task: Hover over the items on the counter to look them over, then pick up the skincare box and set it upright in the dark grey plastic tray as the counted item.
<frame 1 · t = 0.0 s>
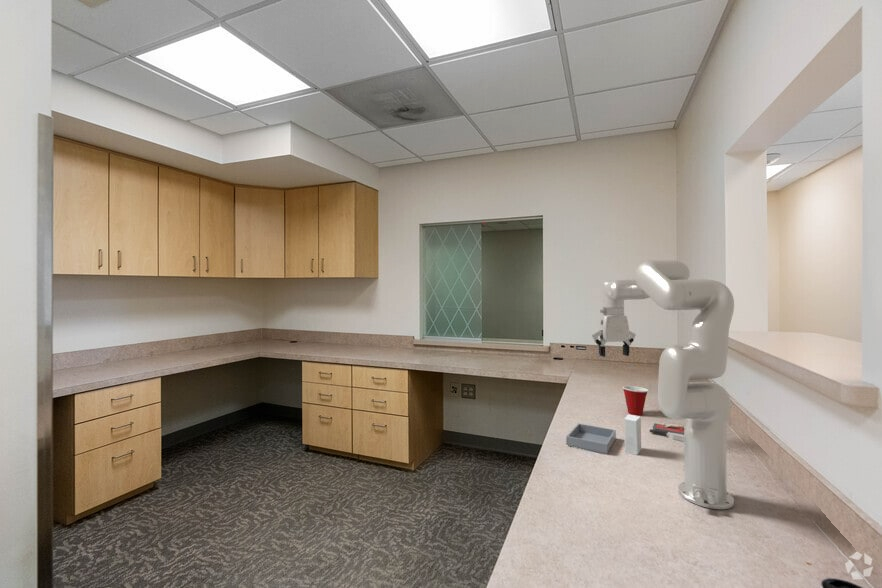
hand: (614, 355, 149), 31 cm above the table, tool pointing down, fingers open, 9 cm apart
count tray: (591, 442, 142), on the table
plastic cup: (635, 414, 173), on the table
skincare box: (632, 451, 134), on the table
walkie-talkie: (679, 438, 146), on the table
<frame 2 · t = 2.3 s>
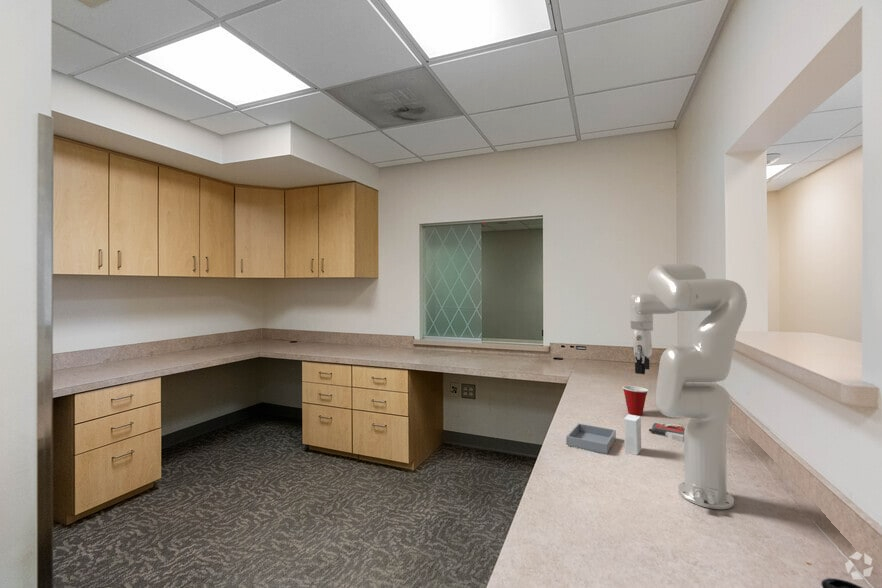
hand: (642, 371, 143), 26 cm above the table, tool pointing down, fingers open, 9 cm apart
nothing on the table moved.
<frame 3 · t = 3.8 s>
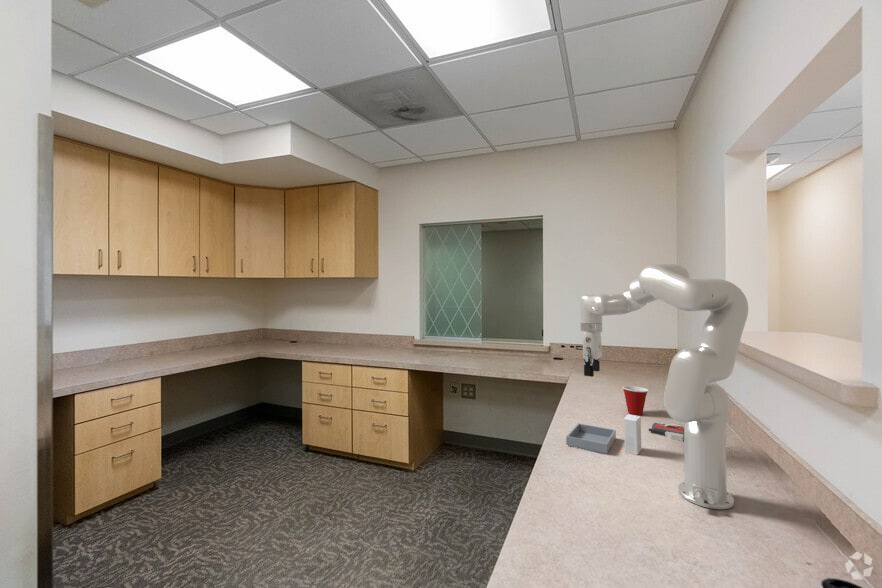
hand: (592, 373, 142), 26 cm above the table, tool pointing down, fingers open, 9 cm apart
nothing on the table moved.
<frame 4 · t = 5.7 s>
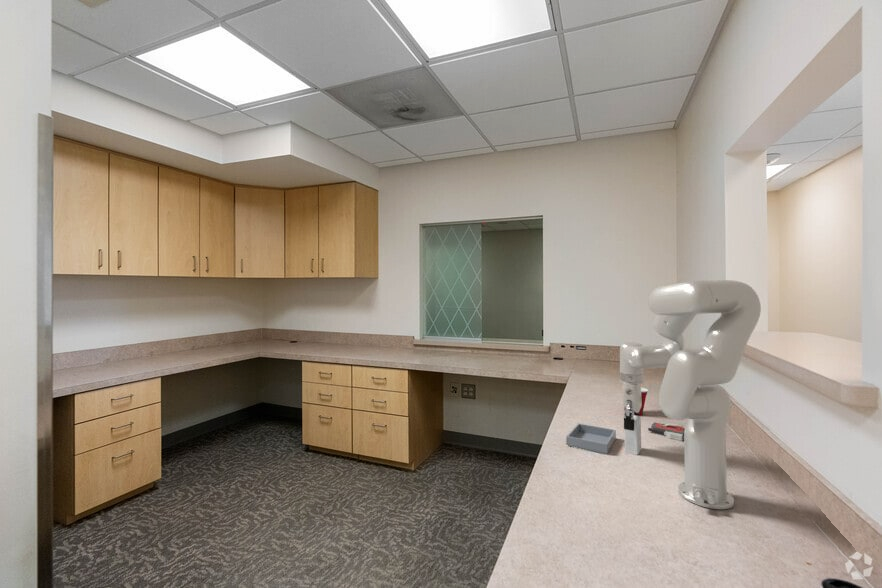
hand: (631, 425, 135), 9 cm above the table, tool pointing down, fingers open, 9 cm apart
nothing on the table moved.
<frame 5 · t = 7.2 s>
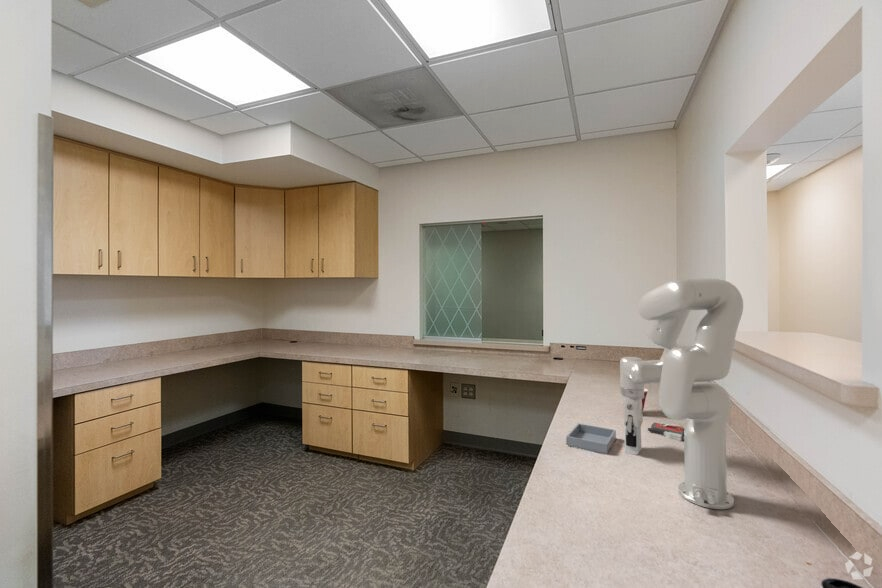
hand: (632, 442, 134), 3 cm above the table, tool pointing down, fingers closed on skincare box, 6 cm apart
skincare box: (632, 451, 134), on the table, touching gripper
everything else where it was.
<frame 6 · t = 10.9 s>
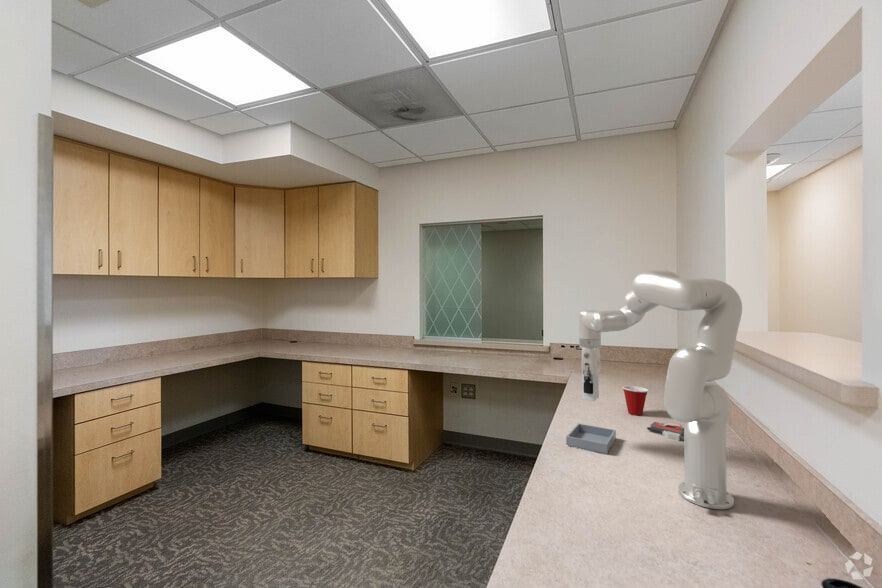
hand: (590, 390, 142), 20 cm above the table, tool pointing down, fingers closed on skincare box, 6 cm apart
skincare box: (590, 399, 142), point 16 cm above the table, touching gripper
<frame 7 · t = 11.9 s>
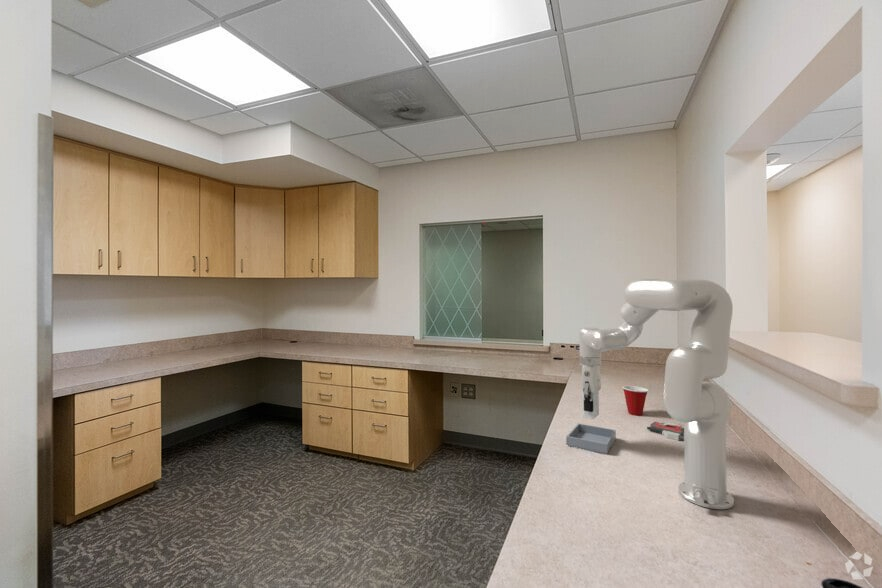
hand: (590, 408, 142), 13 cm above the table, tool pointing down, fingers closed on skincare box, 6 cm apart
skincare box: (590, 416, 142), point 10 cm above the table, touching gripper
when the fingers open (5 cm above the table, at t = 14.2 s): skincare box drops 1 cm, resting on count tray.
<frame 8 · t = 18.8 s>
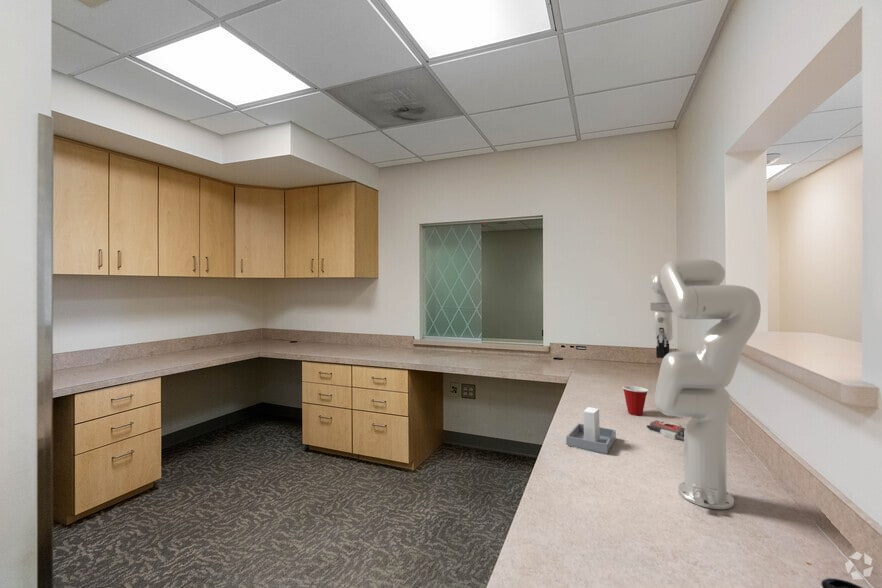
hand: (663, 355, 135), 33 cm above the table, tool pointing down, fingers open, 9 cm apart
skincare box: (591, 442, 142), resting on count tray
at the end: skincare box inside the target area on the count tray (0.4 cm from its centre), point 0.3 cm above the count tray's base; skincare box tilted 0°; the gripper is holding nothing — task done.
